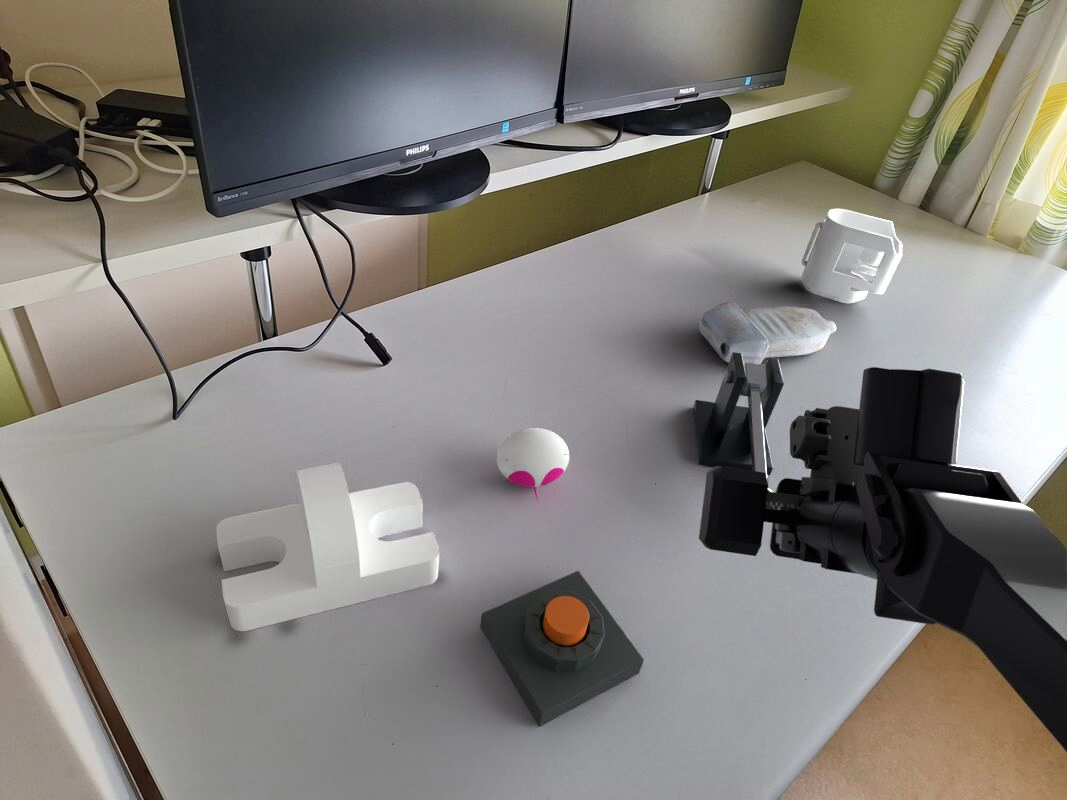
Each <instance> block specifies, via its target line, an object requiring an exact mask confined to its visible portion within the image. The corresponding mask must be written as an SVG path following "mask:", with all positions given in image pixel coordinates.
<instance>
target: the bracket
mask: <svg viewBox="0 0 1067 800" xmlns="http://www.w3.org/2000/svg"><path fill="white" fill-rule="evenodd" d="M765 365H766V376H767V387H766V388H765V390H764V392H763V394H762V396H761V408H762V421H763V434H764V447H765V460H766V473H767V476H771V474H772V472H773V469H774V465H773V461H772V456H771V450H770V446H769V442H768V437H767V431H766V427H767V425H768V423H769V420H770V419H771V416H772V413H773V411H774V409H775V407H776V404H777V402H778V399H779V397H780V395H781V392H782V390H783V388H784V385H785V381H784V377H783V374H782V368H781V366H780V362H779V358H778V357H769V358H768V359H767V362H766V363H765ZM745 381H746V374H745V368H744V363H743V358H742V353H736V352H733V353H732V356H731V359H730V362H729V363H727V367H726V369H725V372H724V375H723V379H722V381H721V384H720V386H719V390H718V393H717V396H716V397H715V402H713V401H707V400H700V399H695V400H694V404H693V405H692V406H693V407H692V408H693V418H694V419H693V420H694V428H695V439H696V449H697V450H696V451H697V456H698V457H697V459H698V465H699V466H701V467H703V466H704V467H710V468H714V467H715V466H723V467H730V468H737V469H744V470H750V471H752V455H751V440H750V424H749V408H748V406H740V405H737V404H738V401H739V399H740V396H741V395H740V394H741V391H742V388H743V386H744V383H745Z"/></svg>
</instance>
